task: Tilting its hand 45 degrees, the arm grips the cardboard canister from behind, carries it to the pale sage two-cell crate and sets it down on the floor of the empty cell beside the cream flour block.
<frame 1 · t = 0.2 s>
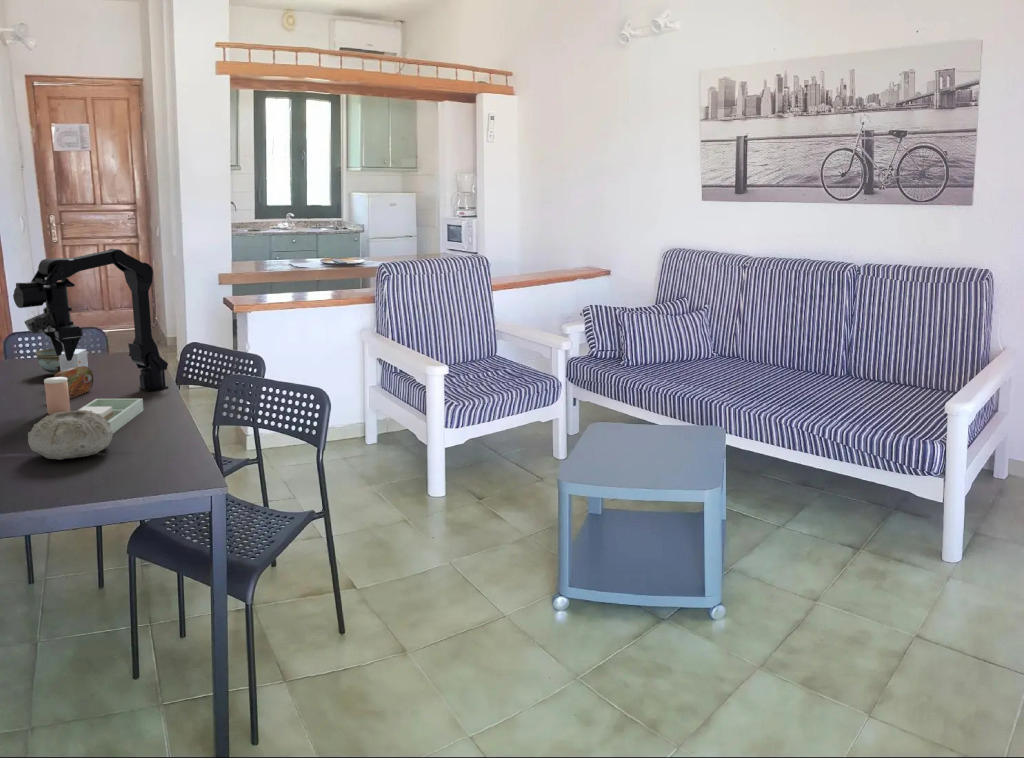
hand: (63, 358, 240), 14 cm above the table, tool pointing down, fingers open, 9 cm apart
small box: (76, 383, 269), on the table
bowl: (61, 374, 281), on the table
flour block: (94, 428, 219), point 1 cm above the table, touching tote
tin: (74, 396, 254), on the table
canister: (59, 414, 234), on the table
tote: (112, 418, 231), on the table
grey rounded lump: (73, 455, 200), on the table
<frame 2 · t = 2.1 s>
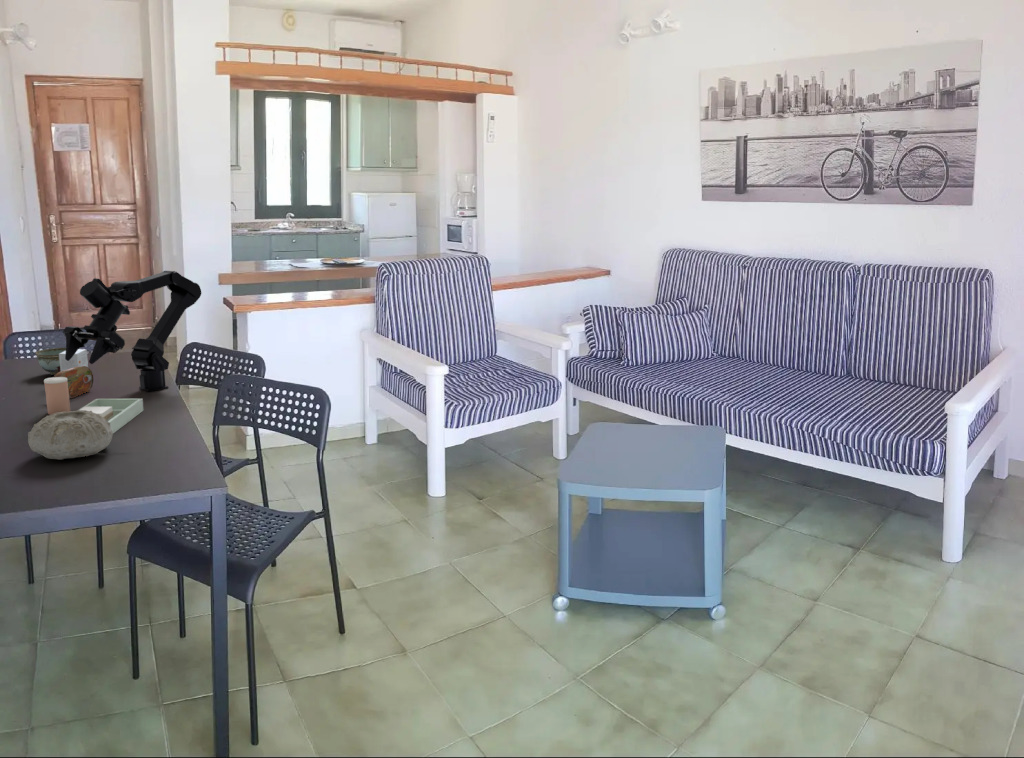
hand: (78, 361, 238), 13 cm above the table, tool tilted 45°, fingers open, 9 cm apart
nothing on the table moved.
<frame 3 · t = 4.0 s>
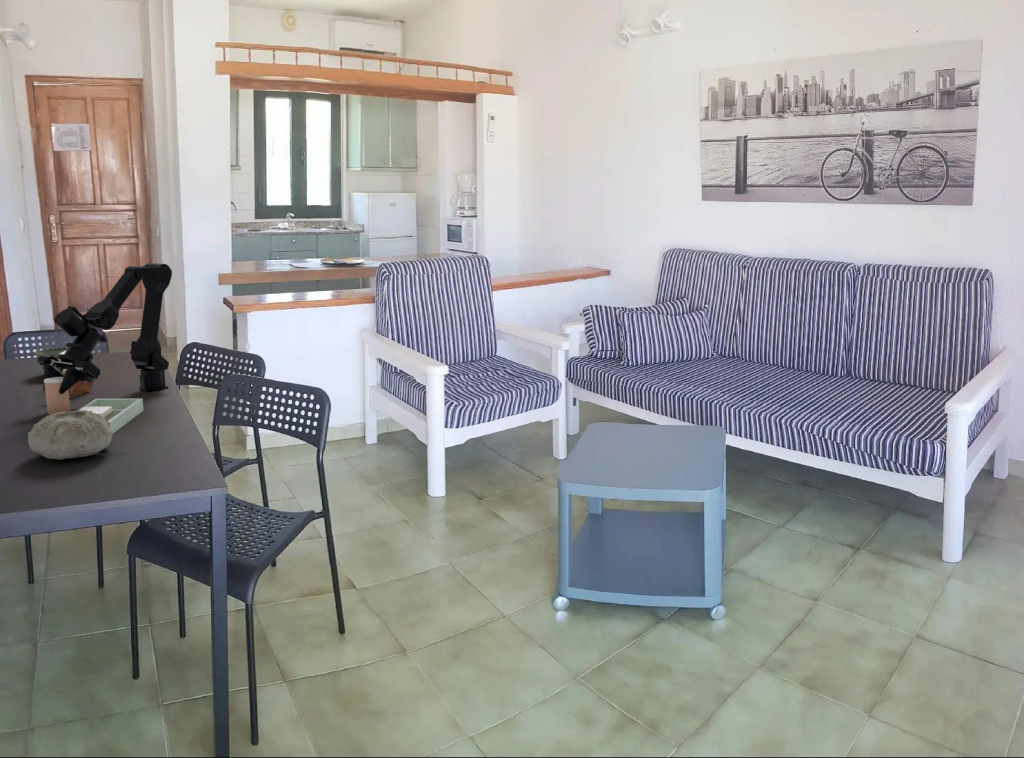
hand: (52, 392, 231), 7 cm above the table, tool tilted 45°, fingers closed on canister, 6 cm apart
canister: (59, 414, 234), on the table, touching gripper
everything else where it was.
when the fingers open (8 cm above the table, at t = 7.6 s): canister stays where it is, resting on tote.
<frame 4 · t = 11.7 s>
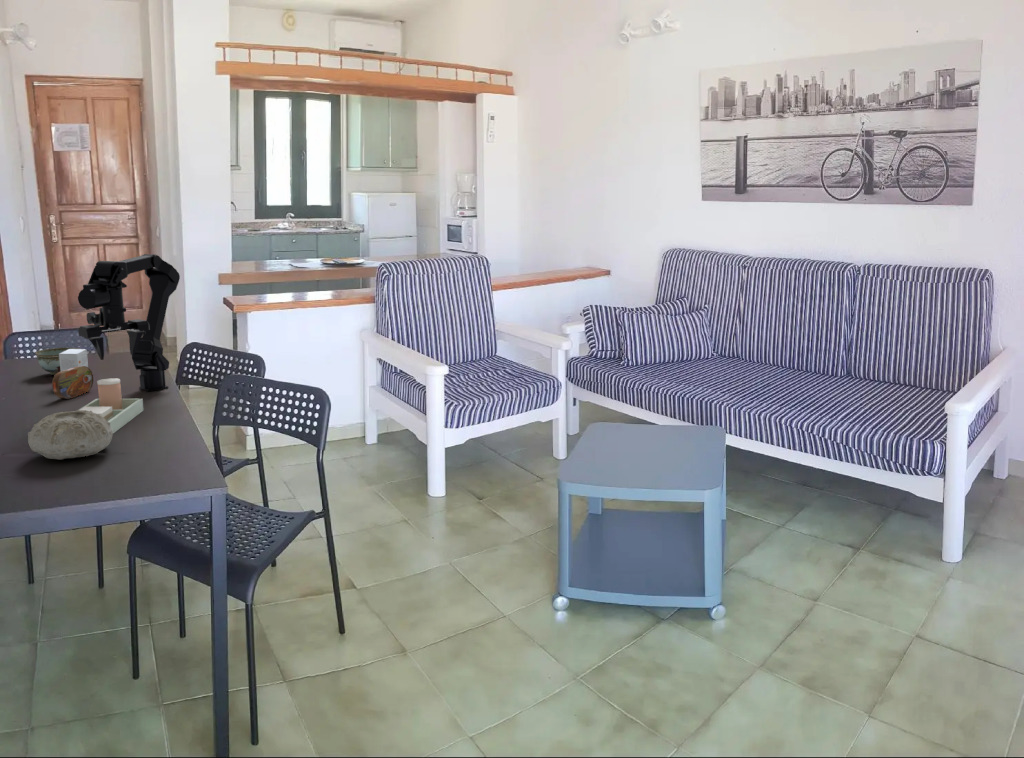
hand: (117, 357, 247), 13 cm above the table, tool pointing down, fingers open, 9 cm apart
canister: (112, 416, 231), point 1 cm above the table, touching tote
everything else where it was.
at the end: canister 0.1 cm from the tote (horizontally); canister tilted 0°; canister point 0.6 cm above the table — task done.
